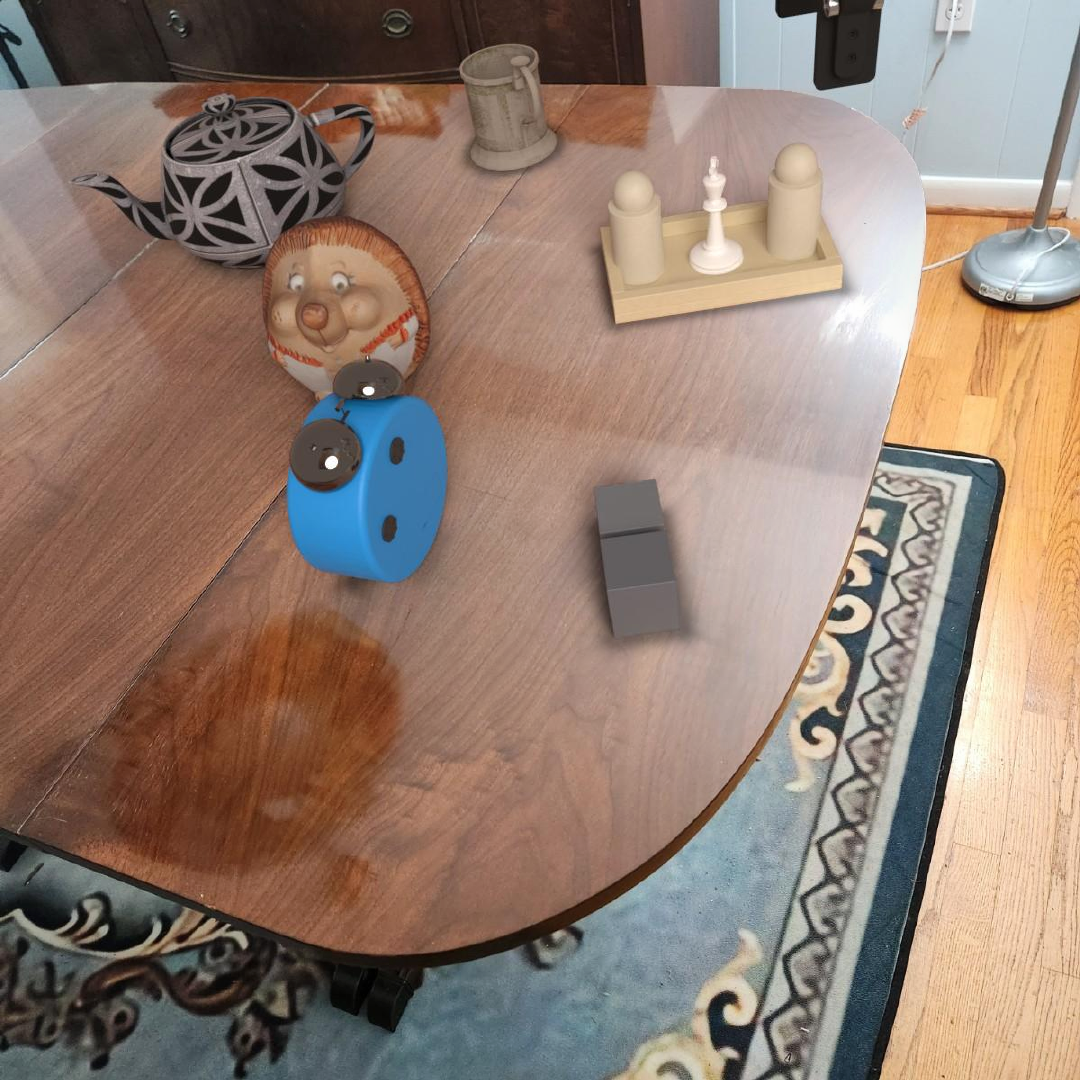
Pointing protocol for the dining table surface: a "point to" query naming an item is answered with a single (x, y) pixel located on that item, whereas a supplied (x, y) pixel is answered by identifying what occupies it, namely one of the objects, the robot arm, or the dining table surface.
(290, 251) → the figurine
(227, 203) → the teapot
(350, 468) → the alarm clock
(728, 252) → the chess piece
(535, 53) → the mug
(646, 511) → the slate blocks
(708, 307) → the pawn tray
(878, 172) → the dining table surface
